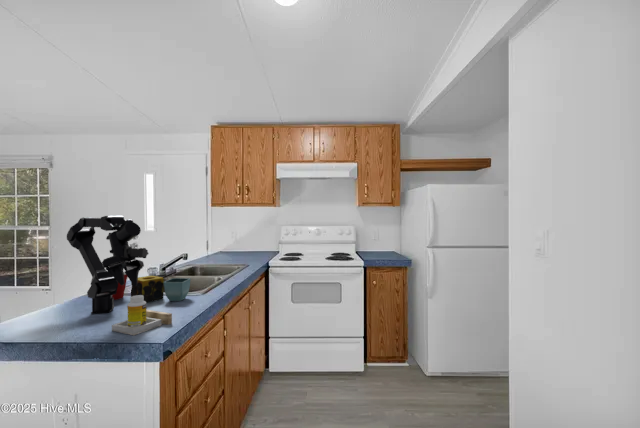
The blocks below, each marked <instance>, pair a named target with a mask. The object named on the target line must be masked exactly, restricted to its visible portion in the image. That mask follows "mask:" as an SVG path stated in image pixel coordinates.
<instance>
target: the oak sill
mask: <svg viewBox="0 0 640 428" xmlns="http://www.w3.org/2000/svg"><path fill="white" fill-rule="evenodd" d="M146 317H149V318H155V319H161V325H171V324H172V323H173V313H170V312H164V311H158V310H153V309H146Z"/></svg>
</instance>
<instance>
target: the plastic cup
mask: <svg viewBox="0 0 640 428" xmlns="http://www.w3.org/2000/svg"><path fill="white" fill-rule="evenodd" d="M123 272H124V281H125V284H124V285H120V283H119V282H118V288H117V293H116V294H113V295H112V298H114V301H115V300H121V299H123V298H124V295H125V290H126V286H127V285H126V284H127V281H128V276H127V275H126V273H125V271H123Z"/></svg>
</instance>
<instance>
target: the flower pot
mask: <svg viewBox="0 0 640 428" xmlns="http://www.w3.org/2000/svg"><path fill="white" fill-rule="evenodd" d="M191 280H192V279H191V278H189V277H188V278H187V277H186V278H179V277H178V278H177V277H174V278H170V279H168V280H164V285H163V290H164V293H165V296H166V298H167V300H168V301H170V302H181V301H183V300H184V299H186V297H187V296H188V294H189V292H190V286H191Z"/></svg>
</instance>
